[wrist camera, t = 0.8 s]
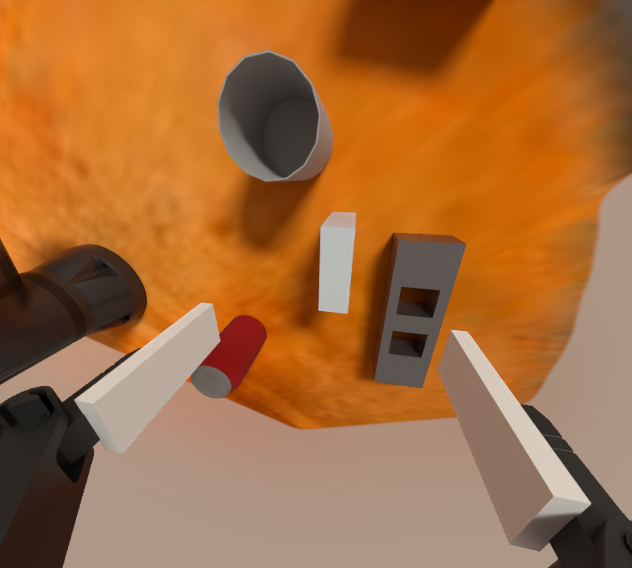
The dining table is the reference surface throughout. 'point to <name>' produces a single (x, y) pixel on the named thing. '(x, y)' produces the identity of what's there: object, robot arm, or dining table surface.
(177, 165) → the dining table surface
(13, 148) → the dining table surface
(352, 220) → the upright white panel
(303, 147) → the cup
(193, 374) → the beverage can
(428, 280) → the block with rectangular holes
